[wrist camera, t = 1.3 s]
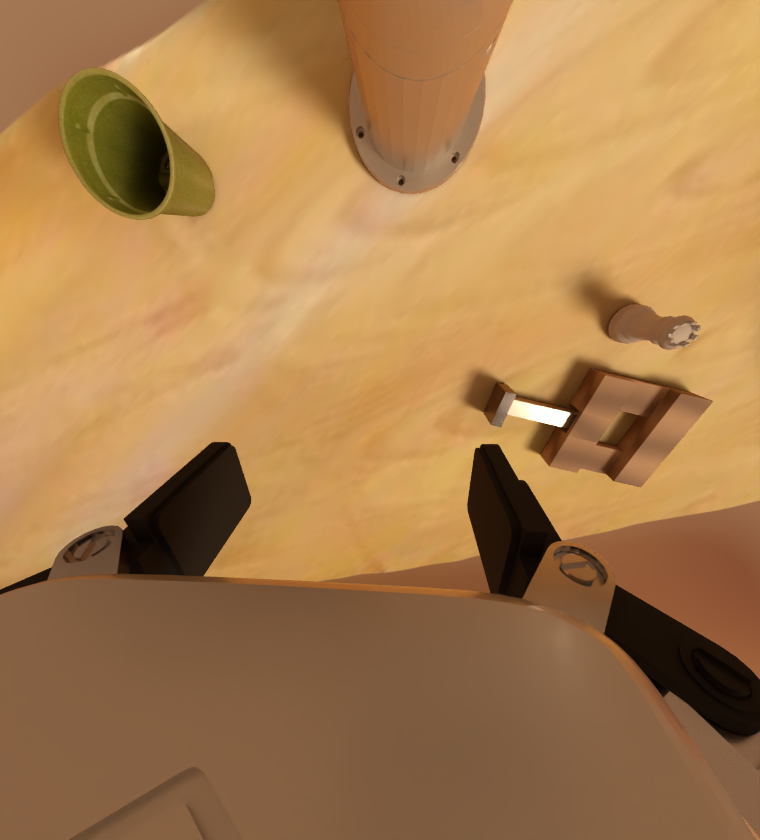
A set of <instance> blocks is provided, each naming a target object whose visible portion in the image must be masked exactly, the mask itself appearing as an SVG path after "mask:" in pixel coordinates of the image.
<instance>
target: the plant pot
mask: <svg viewBox="0 0 760 840" xmlns="http://www.w3.org/2000/svg"><path fill="white" fill-rule="evenodd" d="M58 119H59V129H60V135H61V139H62V143H63V146H64V150H65V153H66V155H67V158H68V160H69V162H70V164H71V166H72V168H73V170H74V172H75V173H76V175H77V177H78V178H79V180H80V181H81V183H82V184H83V186H84V187H85V188H86V189H87V191H88V192H89V193H90V194H91V195H92V196H93V197H94V198H95V199H96V200H97V201H98V202H99V203H101V204H102V205H103V206H104V207H106V208H107V209H109V210H110V211H112V212H114V213H116V214H118V215H120V216H123V217H126V218H130V219H136V220H145V219H150V218H153V217H155V216H157V215H159V214H168V215H182V216H201V215H204V214H205V213H207V212H208V211H209V209H210V208H211V206H212V204H213V202H214V198H215V190H214V185H213V179H212V174H211V171H210V169H209V167H208V165H207V164H206V162H205V161H204V160H203V158H202V157H201V156H200V155H199V154H198V153H197V152H195V151H194V150H193V149H192V148H191V147H190V146H189V145H188V144H187V143H186V142H184V141H183V140H182V139H181V138H180V137H179V136H178V135H177V134H176V133H174V132H173V131H172V130H171V129H170V128H169V127H168V126H167V125H166V124H165V123H164V122H163V121H162V120H161V118H160V117H159V115H158V113H157V112H156V110H155V109H154V107H153V106H152V105H151V103H150V102H149V101H148V100H147V98H146V97H145V96H144V95H143V94H142V93H141V92H140V91H139V90H138V89H137V88H136V87H135V86H134V85H132V84H131V83H130V82H129V81H127V80H126V79H124V78H123V77H121V76H120V75H118V74H116V73H114V72H112V71H109V70H105V69H101V68H88V69H84V70H80V71H79V72H77V73H75V74H74V75H73V76H72V77H71V78H70V79H69V80H68V82H67V83H66V85H65V87H64V89H63V92H62V94H61V98H60V101H59V110H58ZM168 159H169V160H170V165H169V168H168V169H166V163H167V160H168Z"/></svg>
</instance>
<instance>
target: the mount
mask: <svg viewBox="0 0 760 840" xmlns="http://www.w3.org/2000/svg"><path fill="white" fill-rule="evenodd" d="M712 402H713V401H711V400H709V399H706V398H704V397H701V396H699V395H696V394H694V393H691V392H687V391H683V390H679V389H674V388H670V387H666V386H662V385H658V384H654V383H650V382H645V381H641V380H637V379H633V378H629V377H625V376H621V375H616V374H612V373H608V372H604V371H600V370H596V369H592V368H591V369H590V371H589V372H588V374H587V376H586V377H585V379H584V381H583V382H582V384H581V386H580V388H579V389H578V391H577V393H576V394H575V396H574V398H573V400H572V401H571V403H570V404H571V405H572V406H574V407H575V408H577V409H578V410H579V413H578V415H577V416H576V418H575V420H574V421H573V423H572V425H571V426H570V428H569V429H568V428H564V427H559V426H557V427H556V429H555V430H554V432H553V434H552V436H551V437H550V439H549V441H548V442H547V444H546V446H545V447H544V449H543V451H542V453H541V454H540V455H541V456H542V458H543V459H544V460H545V462H546V463H547V464H548V465H549V467H554V468H558V469H563V470H567V471H571V472H576V473H577V472H578V471H579V469H580V468H581V469H586V470H590V471H594V472H599V473H603V474H607V475H608V476H609V477H610V478H611V479H612V480H613V481H615V482H620V483H624V484H629V485H633V486H637V487H642V486H643V484H644V483H645V482H646V481H647V480H648V478H649V477H650V476H651V475H652V474H653V472H654V471H655V470H656V469H657V468H658V466H659V465H660V464H661V463H662V462H663V461H664V459H665V458H666V457H667V456H668V455H669V453H670V452H671V451H672V450H673V449H674V447H675V446H676V445H677V444H678V443H679V441H680V440H681V439H682V438H683V437H684V436H685V434H686V433H687V432H688V431H689V430H690V428H691V427H692V426H693V425H694V424H695V422H696V421H697V420H698V419H699V418H700V417H701V415H702V414H703V413H704V412H705V411H706V409H707V408H708V407H709V406H710V405H711V403H712ZM619 411H623V412H627V413H632V414H636V415H639V416H638V418H637V419H636V421H635V422H634V423H633V425H632V426H631V428H630V429H629V430H628V432H627V433H626V434H625V436H624V437H623V439H622V440H621V441H620V443H619V444H618V445H617V446H613V445H609V444H605V443H600V442H598V441H599V440H600V438H601V437H602V436H603V434H604V433H605V431H606V430H607V428H608V427H609V425H610V424H611V422H612V421H613V419H614V418H615V416H616V415H617V414H618V412H619Z"/></svg>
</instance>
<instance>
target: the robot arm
mask: <svg viewBox="0 0 760 840" xmlns="http://www.w3.org/2000/svg"><path fill="white" fill-rule="evenodd" d="M512 2H513V0H338V3H339V7H340V12H341V16H342V20H343V25H344V29H345V33H346V38H347V42H348V46H349V51H350V55H351V59H352V64H353V68H354V70H353V74H352V79H351V84H350V92H349V116H350V126H351V130H352V134H353V139H354V142H355V145H356V148H357V151H358V153H359V155H360V157H361V159H362V161H363V163H364V165H365V166H366V168H367V169H368V170H369V172H370V173H371V175H372V176H373V177H374V178H376V179H377V180H378V181H379V182H380V183H381V184H382V185H384V186H386V187H387V188H389V189H391V190H394V191H397V192H400V193H406V194H417V193H423V192H426V191H429V190H431V189H434V188H436V187H438V186H439V185H441V184H442V183H444V182H445V181H447V180H448V179H449V178H450V177H451V176H452V175H453V174H454V173H455V172H456V171H457V170H458V168H459V167H460V166H461V164H462V163H463V161H464V160H465V159H466V157H467V155H468V153H469V151H470V150H471V148H472V146H473V143H474V141H475V139H476V136H477V134H478V131H479V128H480V124H481V121H482V117H483V111H484V104H485V70H486V67H487V65H488V62H489V60H490V57H491V55H492V52H493V50H494V47H495V45H496V42H497V40H498V37H499V34H500V32H501V29H502V27H503V24H504V22H505V19H506V17H507V14H508V12H509V9H510V7H511V4H512ZM360 134H364V137H363V138H359V135H360ZM452 158H456V163H453V162H452ZM400 180H402V181H403V182H404V183H403V185H399V181H400ZM250 504H251V496H250V493H249V490H248V487H247V483H246V480H245V477H244V474H243V471H242V468H241V465H240V461H239V458H238V455H237V452H236V449H235V447H234V446H232V445H231V444H230V443H228V442H212V443H211V444H210V445H208V446H207V447H206V448H205V449H204V450H203V451H201V452H200V453H199V454H198V455H197V456H196V457H194V458H193V459H192V460H191V461H190V462H189V463H188V464H186V465H185V466H184V467H183V468H182V469H181V470H179V471H178V472H177V473H176V474H175V475H174V476H172V477H171V478H170V479H169V480H168V481H167V482H166V483H164V484H163V485H162V486H161V487H160V488H159V489H157V490H156V491H155V492H154V493H153V494H152V495H150V496H149V497H148V498H147V499H146V500H145V501H144V502H142V503H141V504H140V505H139V506H138V507H137V508H135V509H134V510H133V511H132V512H131V513H130V514H128V515H127V516H126V517H125V518H124V521H125V522H126V524H127V525H128V527H127V528H125V529H124V530H122V529H121V528H120V527H118V526H104V527H101V528H97V529H94V530H92V531H90V532H87V533H85V534H83V535H81V536H80V537H78V538H76V539H74V540H73V541H72V542H70V543H69V544H68V545H66V546H65V547H64V548H63V549H62V550H61V551H60V552H59V554H58V555H57V557H56V558H55V561H54V564H53V566H52V567H51V568H49V569H47V570H44V571H42V572H40V573H38V574H35V575H33V576H31V577H28V578H26V579H24V580H21V581H19V582H17V583H15V584H12V585H10V586H8V587H5V588H3V589H1V590H0V840H756V839H755V837H754V835H753V834H752V832H751V831H750V829H749V828H748V826H747V824H746V823H745V821H744V819H745V820H746V821H747V823H748V824H749V825H750V826H751V828H752V829H753V830H754V831H755V833H756V834H757V835H758V836H759V838H760V679H759V678H758V677H757V676H756V675H755V674H754V673H753V672H752V670H751V669H749V668H748V667H747V666H746V665H745V664H744V663H743V662H741V661H740V660H739V659H738V658H737V657H736V656H734V655H733V654H731V653H729V652H728V651H727V650H725V649H724V648H722V647H721V646H719V645H717V644H716V643H714V642H712V641H710V640H709V639H707V638H705V637H704V636H702V635H700V634H699V633H697V632H695V631H694V630H692V629H690V628H688V627H687V626H685V625H683V624H682V623H680V622H678V621H677V620H675V619H673V618H672V617H670V616H668V615H666V614H665V613H663V612H661V611H660V610H658V609H656V608H654V607H653V606H651V605H649V604H647V603H646V602H644V601H643V600H641V599H639V598H638V597H636V596H634V595H632V594H631V593H629V592H627V591H626V590H624V589H622V588H621V587H619V586H617V585H616V580H615V579H616V578H615V575H614V572H613V570H612V568H611V567H610V566H609V564H608V563H607V562H606V561H605V560H604V559H603V558H602V557H601V556H600V555H598V554H597V553H596V552H594V551H592V550H591V549H589V548H587V547H586V546H583V545H580V544H578V543H575V542H570V541H562V540H561V539H560V537H559V536H558V534H557V532H556V531H555V529H554V527H553V526H552V524H551V522H550V521H549V519H548V517H547V516H546V514H545V512H544V511H543V509H542V507H541V506H540V504H539V502H538V501H537V499H536V497H535V496H534V494H533V492H532V491H531V489H530V488H529V486H528V484H527V483H526V482H525V481H523V480H518V478H517V476H516V474H515V473H514V471H513V469H512V467H511V466H510V464H509V462H508V460H507V459H506V457H505V455H504V454H503V452H502V450H501V448H500V447H499V445H498V444H482V445H481V446H480V448H476V449H475V453H474V460H473V467H472V475H471V482H470V489H469V496H468V504H467V507H468V514H469V517H470V521H471V524H472V528H473V532H474V535H475V539H476V542H477V546H478V549H479V553H480V556H481V560H482V564H483V567H484V571H485V575H486V578H487V582H488V585H489V589H490V593H483V592H476V591H464V590H451V589H437V588H423V587H407V586H389V585H370V584H352V583H332V582H313V581H293V580H272V579H251V578H228V577H205V576H204V574H205V573H206V571H207V570H208V568H209V567H210V565H211V564H212V562H213V561H214V559H215V558H216V556H217V555H218V553H219V552H220V550H221V549H222V547H223V546H224V544H225V543H226V541H227V540H228V538H229V537H230V535H231V534H232V532H233V531H234V529H235V528H236V526H237V525H238V523H239V522H240V520H241V519H242V517H243V516H244V514H245V513H246V511H247V510H248V508H249V507H250ZM740 814H741V815H742V816H741V815H740ZM742 817H744V819H743V818H742Z"/></svg>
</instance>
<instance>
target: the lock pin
mask: <svg viewBox="0 0 760 840" xmlns="http://www.w3.org/2000/svg"><path fill="white" fill-rule="evenodd" d="M516 395H517V394H516V393H515V392H514V391H513V390H512V389H511V388H510V387H509V386H508V385H506V384H502V383H497V384H496V386H495V389H494V391H493V393H492V395H491V398H490V400H489V402H488V405H487V407H486V409H485V412H484V415H485V416H486V418H487V419H488V421H489V423H490V424H491V425H494V426H498V427H501V426H502V424H503V422H504V420H505V418H506V415H507V414H508V415H512V416H516V417H521V418H525V419H529V420H533V421H538V422H542V423H546V424H551V425H555V426H559V427H564V428H568V429H569V428H570V426H571V425H572V423H573V421H574V420H575V418H576V416H577V415H578V414H577V413H575V412H574V411H573V410H571V409H567V408H563V407H559V406H554V405H550V404H546V403H542V402H537V401H533V400H529V399H525V398H520V397H516Z"/></svg>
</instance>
